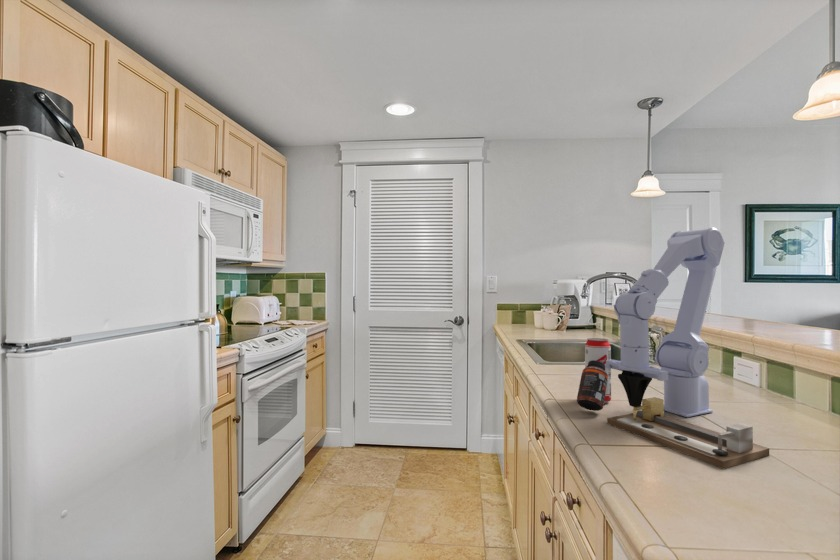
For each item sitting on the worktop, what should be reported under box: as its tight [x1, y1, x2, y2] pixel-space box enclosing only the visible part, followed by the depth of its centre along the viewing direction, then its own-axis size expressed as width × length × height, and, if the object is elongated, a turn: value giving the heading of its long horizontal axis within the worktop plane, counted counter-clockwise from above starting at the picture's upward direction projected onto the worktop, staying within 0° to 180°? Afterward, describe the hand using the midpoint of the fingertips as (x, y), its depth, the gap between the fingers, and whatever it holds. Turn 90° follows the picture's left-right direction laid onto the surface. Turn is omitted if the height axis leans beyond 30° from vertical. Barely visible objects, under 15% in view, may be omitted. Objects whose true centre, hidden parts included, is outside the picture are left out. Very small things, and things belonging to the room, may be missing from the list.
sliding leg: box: [632, 396, 665, 421], centre depth 89 cm, size 8×2×4 cm, turn 113°
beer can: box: [584, 337, 612, 404], centre depth 108 cm, size 6×6×16 cm
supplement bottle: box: [576, 360, 608, 412], centre depth 100 cm, size 6×6×11 cm
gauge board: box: [606, 410, 770, 470], centre depth 82 cm, size 13×24×5 cm, turn 23°
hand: (635, 405), depth 94 cm, fingers closed
